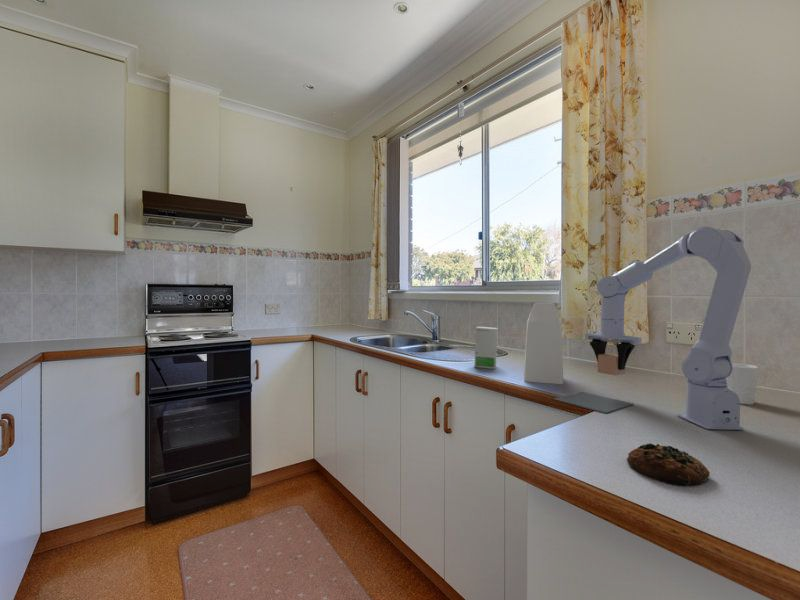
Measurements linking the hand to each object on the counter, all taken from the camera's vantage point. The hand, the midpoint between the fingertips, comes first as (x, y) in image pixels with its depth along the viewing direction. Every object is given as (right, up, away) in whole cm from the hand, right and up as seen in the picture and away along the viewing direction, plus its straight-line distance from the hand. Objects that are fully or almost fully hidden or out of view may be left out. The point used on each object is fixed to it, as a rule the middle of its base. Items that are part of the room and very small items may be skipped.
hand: (611, 367), depth 107 cm
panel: (-8, -8, -5) cm, 13 cm away
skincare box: (-26, -8, +43) cm, 50 cm away
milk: (-11, -8, +22) cm, 26 cm away
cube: (0, -2, 0) cm, 2 cm away
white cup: (+34, -9, -2) cm, 35 cm away
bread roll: (-16, -10, -44) cm, 48 cm away
